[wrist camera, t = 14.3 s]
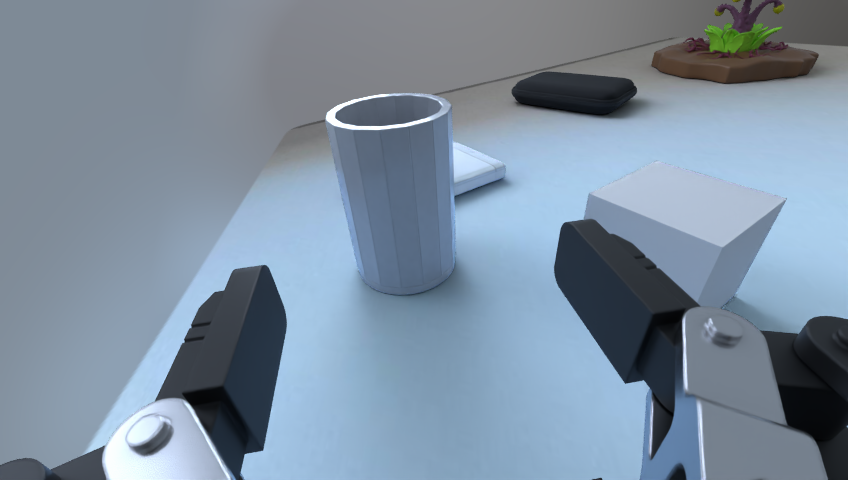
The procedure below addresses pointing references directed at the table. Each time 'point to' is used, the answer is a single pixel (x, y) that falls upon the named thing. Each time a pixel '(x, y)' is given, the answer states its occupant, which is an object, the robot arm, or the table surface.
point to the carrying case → (575, 92)
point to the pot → (397, 188)
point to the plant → (736, 52)
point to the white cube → (688, 225)
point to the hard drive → (474, 169)
